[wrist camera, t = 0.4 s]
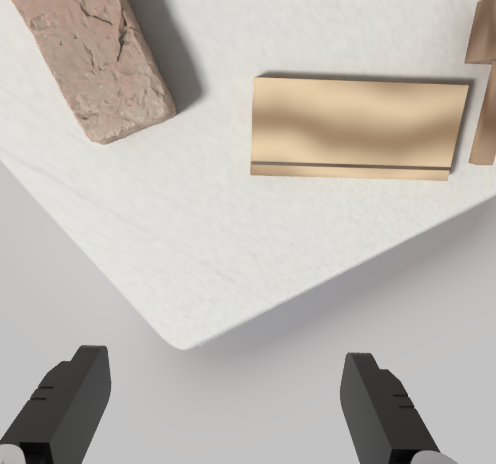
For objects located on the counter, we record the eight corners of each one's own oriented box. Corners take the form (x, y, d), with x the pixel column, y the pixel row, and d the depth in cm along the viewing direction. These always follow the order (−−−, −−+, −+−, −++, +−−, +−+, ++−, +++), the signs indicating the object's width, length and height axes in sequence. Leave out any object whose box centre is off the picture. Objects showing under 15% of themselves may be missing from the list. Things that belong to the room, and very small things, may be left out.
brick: (182, 112, 36) (174, 114, 31) (107, 145, 37) (89, 151, 32) (96, -80, 30) (72, -111, 26) (11, -36, 31) (-27, -58, 27)
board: (253, 78, 34) (254, 77, 33) (459, 85, 35) (469, 85, 33) (250, 172, 37) (250, 175, 36) (439, 177, 38) (447, 180, 37)
